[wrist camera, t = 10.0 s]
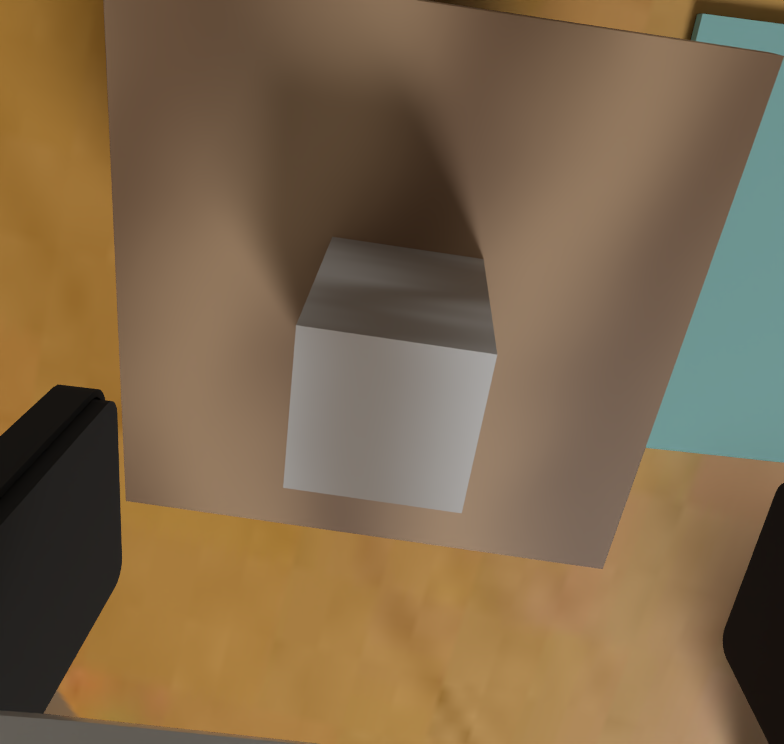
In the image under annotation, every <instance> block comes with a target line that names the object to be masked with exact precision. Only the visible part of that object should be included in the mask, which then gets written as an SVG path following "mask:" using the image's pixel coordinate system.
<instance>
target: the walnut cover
mask: <svg viewBox="0 0 784 744" xmlns="http://www.w3.org/2000/svg"><path fill="white" fill-rule="evenodd" d="M104 22H105V44H106V66H107V88H108V111H109V133H110V155H111V178H112V200H113V222H114V244H115V267H116V289H117V311H118V333H119V356H120V378H121V400H122V423H123V445H124V467H125V489H126V501H131V502H138V503H145V504H152V505H159V506H166V507H173V508H180V509H187V510H194V511H201V512H208V513H215V514H222V515H229V516H236V517H243V518H250V519H257V520H264V521H271V522H278V523H285V524H292V525H299V526H306V527H313V528H320V529H327V530H334V531H340V532H347V533H354V534H361V535H368V536H375V537H382V538H389V539H396V540H403V541H410V542H417V543H424V544H431V545H438V546H445V547H452V548H459V549H466V550H473V551H480V552H487V553H494V554H501V555H508V556H515V557H522V558H529V559H536V560H543V561H550V562H557V563H564V564H571V565H578V566H585V567H592V568H599V569H603V566H604V563H605V561H606V558H607V555H608V552H609V549H610V546H611V544H612V541H613V538H614V535H615V532H616V530H617V527H618V524H619V521H620V518H621V515H622V513H623V510H624V507H625V504H626V501H627V498H628V496H629V493H630V490H631V487H632V484H633V482H634V479H635V476H636V473H637V470H638V467H639V465H640V462H641V459H642V456H643V453H644V451H645V448H646V445H647V442H648V439H649V436H650V434H651V431H652V428H653V425H654V422H655V419H656V417H657V414H658V411H659V408H660V405H661V403H662V400H663V397H664V394H665V391H666V388H667V386H668V383H669V380H670V377H671V374H672V372H673V369H674V366H675V363H676V360H677V357H678V355H679V352H680V349H681V346H682V343H683V340H684V338H685V335H686V332H687V329H688V326H689V324H690V321H691V318H692V315H693V312H694V309H695V307H696V304H697V301H698V298H699V295H700V292H701V290H702V287H703V284H704V281H705V278H706V276H707V273H708V270H709V267H710V264H711V261H712V259H713V256H714V253H715V250H716V247H717V245H718V242H719V239H720V236H721V233H722V230H723V228H724V225H725V222H726V219H727V216H728V213H729V211H730V208H731V205H732V202H733V199H734V197H735V194H736V191H737V188H738V185H739V182H740V180H741V177H742V174H743V171H744V168H745V166H746V163H747V160H748V157H749V154H750V151H751V149H752V146H753V143H754V140H755V137H756V134H757V132H758V129H759V126H760V123H761V120H762V118H763V115H764V112H765V109H766V106H767V103H768V101H769V98H770V95H771V92H772V89H773V86H774V84H775V81H776V78H777V75H778V72H779V70H780V67H781V64H782V61H783V58H784V56H782V55H778V54H775V53H771V52H765V51H758V50H752V49H745V48H738V47H732V46H725V45H718V44H712V43H705V42H699V41H692V40H685V39H679V38H672V37H666V36H659V35H652V34H646V33H639V32H632V31H626V30H619V29H613V28H606V27H599V26H593V25H586V24H580V23H573V22H566V21H560V20H553V19H546V18H540V17H533V16H527V15H520V14H513V13H507V12H500V11H494V10H487V9H480V8H474V7H467V6H460V5H454V4H447V3H441V2H434V1H427V0H104Z"/></svg>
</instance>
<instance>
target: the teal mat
mask: <svg viewBox="0 0 784 744" xmlns="http://www.w3.org/2000/svg"><path fill="white" fill-rule="evenodd" d="M691 40H692V41H699V42H705V43H712V44H718V45H725V46H732V47H738V48H745V49H752V50H758V51H765V52H771V53H775V54H778V55H782V56H784V24H778V23H771V22H763V21H755V20H748V19H740V18H732V17H725V16H717V15H709V14H697V17H696V21H695V25H694V29H693V33H692V37H691ZM646 448H654V449H663V450H673V451H682V452H691V453H700V454H710V455H719V456H728V457H737V458H747V459H756V460H765V461H774V462H784V58H783V61H782V64H781V67H780V70H779V72H778V75H777V78H776V81H775V84H774V86H773V89H772V92H771V95H770V98H769V101H768V103H767V106H766V109H765V112H764V115H763V118H762V120H761V123H760V126H759V129H758V132H757V134H756V137H755V140H754V143H753V146H752V149H751V151H750V154H749V157H748V160H747V163H746V166H745V168H744V171H743V174H742V177H741V180H740V182H739V185H738V188H737V191H736V194H735V197H734V199H733V202H732V205H731V208H730V211H729V213H728V216H727V219H726V222H725V225H724V228H723V230H722V233H721V236H720V239H719V242H718V245H717V247H716V250H715V253H714V256H713V259H712V261H711V264H710V267H709V270H708V273H707V276H706V278H705V281H704V284H703V287H702V290H701V292H700V295H699V298H698V301H697V304H696V307H695V309H694V312H693V315H692V318H691V321H690V324H689V326H688V329H687V332H686V335H685V338H684V340H683V343H682V346H681V349H680V352H679V355H678V357H677V360H676V363H675V366H674V369H673V372H672V374H671V377H670V380H669V383H668V386H667V388H666V391H665V394H664V397H663V400H662V403H661V405H660V408H659V411H658V414H657V417H656V419H655V422H654V425H653V428H652V431H651V434H650V436H649V439H648V442H647V445H646Z"/></svg>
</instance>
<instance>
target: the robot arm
mask: <svg viewBox="0 0 784 744" xmlns="http://www.w3.org/2000/svg"><path fill="white" fill-rule="evenodd" d="M121 565H122V545H121V514H120V483H119V453H118V422H117V408H116V405H115V403H114V402H113V401H105V397H104V395H103V392H102V391H101V390H99V389H91V388H82V387H74V386H66V385H56V386H55V387H53V388H52V389H51V390H50V391H49V392H48V393H47V394H46V395H44V396H43V397H42V398H41V399H40V400H39V401H38V402H37V403H36V404H35V405H34V406H33V407H32V408H30V409H29V410H28V411H27V412H26V413H25V414H24V415H23V416H22V417H21V418H20V419H19V420H17V421H16V422H15V423H14V424H13V425H12V426H11V427H10V428H9V429H8V430H7V431H6V432H4V433H3V434H2V435H1V436H0V744H317V743H308V742H299V741H290V740H281V739H271V738H262V737H253V736H244V735H235V734H225V733H216V732H207V731H198V730H189V729H179V728H170V727H161V726H152V725H143V724H133V723H124V722H115V721H106V720H97V719H87V718H78V717H69V716H60V715H51V714H43V713H44V711H45V710H46V708H47V706H48V704H49V703H50V701H51V699H52V697H53V695H54V694H55V692H56V690H57V688H58V687H59V685H60V683H61V681H62V680H63V678H64V676H65V674H66V673H67V671H68V669H69V667H70V665H71V664H72V662H73V660H74V658H75V657H76V655H77V653H78V651H79V650H80V648H81V646H82V644H83V643H84V641H85V639H86V637H87V636H88V634H89V632H90V630H91V628H92V627H93V625H94V623H95V621H96V620H97V618H98V616H99V614H100V613H101V611H102V609H103V607H104V606H105V604H106V602H107V600H108V599H109V597H110V595H111V593H112V591H113V590H114V588H115V586H116V584H117V581H118V578H119V575H120V571H121ZM723 648H724V653H725V656H726V659H727V661H728V663H729V665H730V667H731V669H732V671H733V673H734V675H735V677H736V679H737V681H738V683H739V685H740V687H741V689H742V691H743V693H744V695H745V697H746V699H747V701H748V703H749V705H750V707H751V709H752V711H753V713H754V715H755V717H756V719H757V721H758V723H759V725H760V727H761V729H762V731H763V733H764V735H765V737H766V739H767V741H768V743H769V744H784V483H783V484H781V485H780V486H779V487H778V489H777V491H776V493H775V496H774V499H773V501H772V504H771V507H770V509H769V512H768V515H767V517H766V520H765V523H764V525H763V528H762V531H761V533H760V536H759V539H758V541H757V544H756V547H755V549H754V552H753V555H752V557H751V560H750V563H749V565H748V568H747V571H746V573H745V576H744V579H743V581H742V584H741V587H740V589H739V592H738V595H737V597H736V600H735V603H734V605H733V608H732V610H731V613H730V616H729V618H728V621H727V624H726V626H725V630H724V633H723Z"/></svg>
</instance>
